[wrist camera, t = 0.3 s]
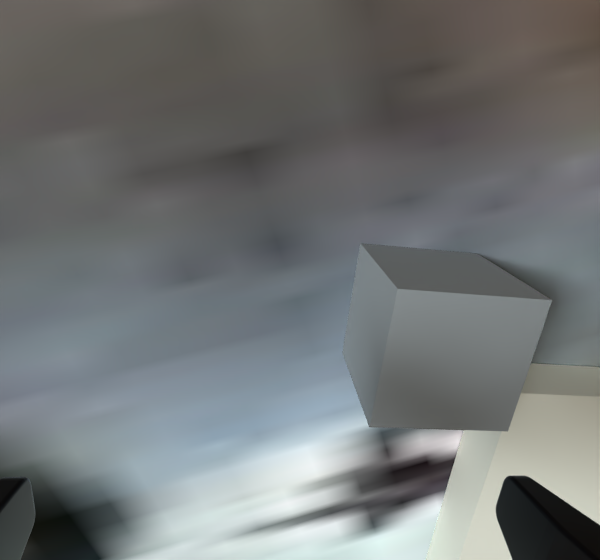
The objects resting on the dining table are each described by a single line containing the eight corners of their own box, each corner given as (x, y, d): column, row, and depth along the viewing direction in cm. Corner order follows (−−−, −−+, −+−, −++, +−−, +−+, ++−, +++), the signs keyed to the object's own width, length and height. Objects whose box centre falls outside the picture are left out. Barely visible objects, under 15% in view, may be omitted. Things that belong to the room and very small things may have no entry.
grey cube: (448, 357, 24) (507, 431, 18) (342, 351, 23) (369, 427, 18) (476, 253, 22) (552, 300, 16) (359, 242, 21) (397, 289, 15)
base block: (609, 565, 31) (644, 609, 28) (423, 566, 29) (440, 614, 27) (705, 372, 26) (760, 404, 23) (484, 360, 24) (514, 393, 21)
